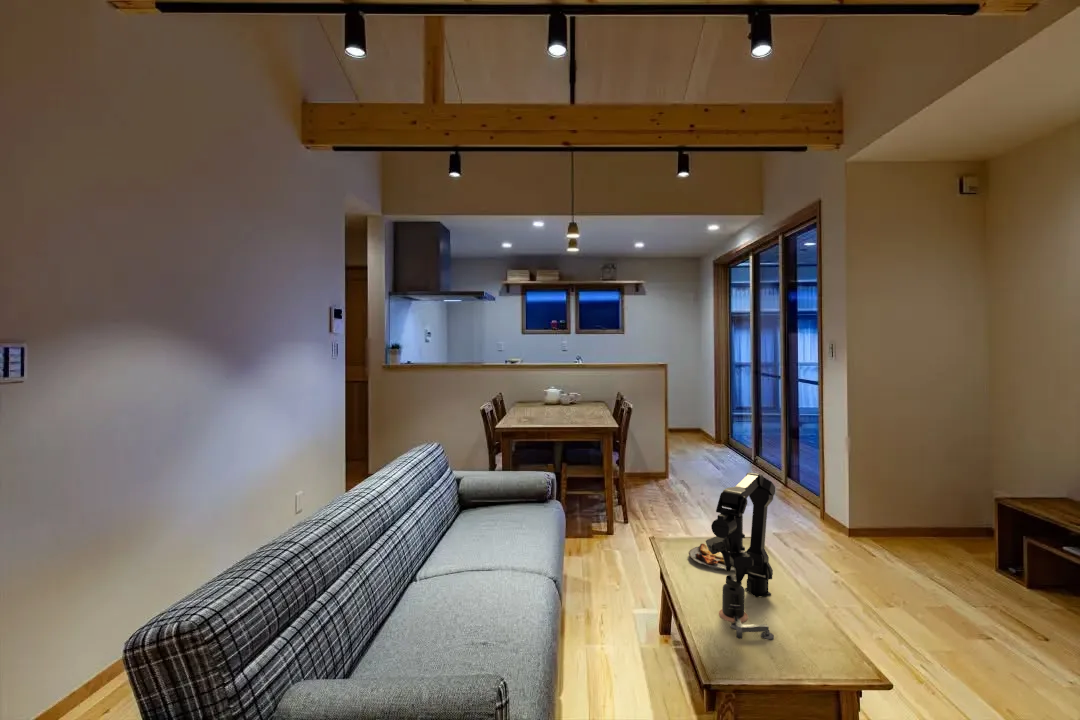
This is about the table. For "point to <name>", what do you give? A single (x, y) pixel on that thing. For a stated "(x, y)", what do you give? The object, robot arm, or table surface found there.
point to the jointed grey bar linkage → (751, 629)
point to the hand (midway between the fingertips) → (733, 577)
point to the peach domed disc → (733, 618)
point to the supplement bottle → (733, 598)
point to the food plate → (708, 557)
